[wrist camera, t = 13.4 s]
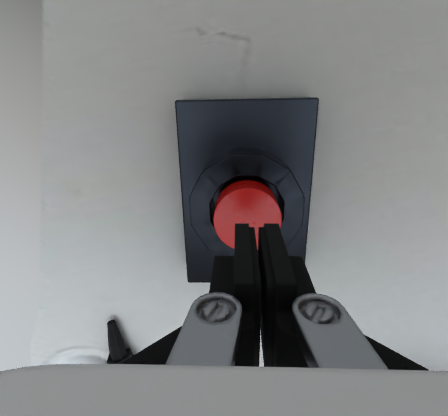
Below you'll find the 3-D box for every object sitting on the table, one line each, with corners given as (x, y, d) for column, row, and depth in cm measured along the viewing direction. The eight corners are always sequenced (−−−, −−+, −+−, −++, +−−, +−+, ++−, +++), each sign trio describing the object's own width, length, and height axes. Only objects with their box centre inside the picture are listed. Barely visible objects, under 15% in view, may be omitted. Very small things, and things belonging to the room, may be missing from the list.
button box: (181, 99, 19) (167, 101, 15) (310, 97, 19) (328, 97, 15) (191, 266, 23) (183, 299, 19) (297, 266, 23) (309, 300, 19)
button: (214, 179, 17) (212, 188, 15) (279, 179, 17) (283, 188, 15) (216, 237, 18) (214, 251, 17) (276, 237, 18) (280, 251, 16)
